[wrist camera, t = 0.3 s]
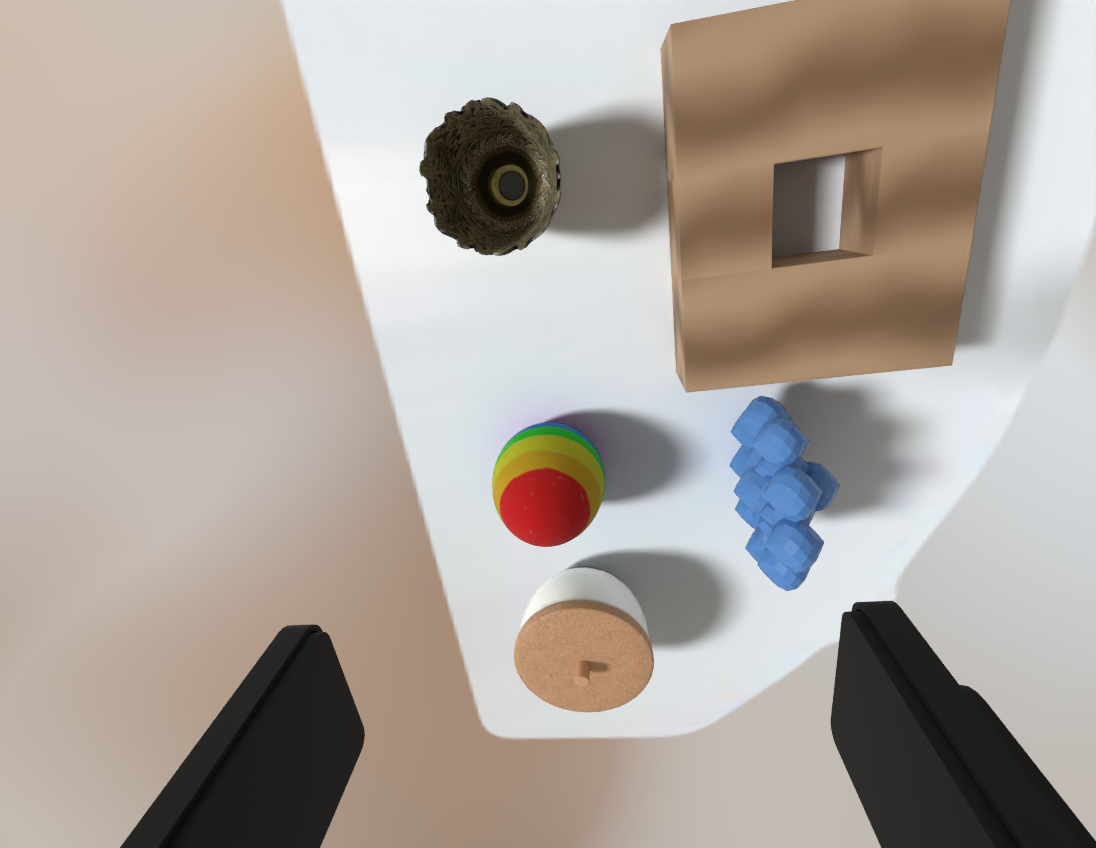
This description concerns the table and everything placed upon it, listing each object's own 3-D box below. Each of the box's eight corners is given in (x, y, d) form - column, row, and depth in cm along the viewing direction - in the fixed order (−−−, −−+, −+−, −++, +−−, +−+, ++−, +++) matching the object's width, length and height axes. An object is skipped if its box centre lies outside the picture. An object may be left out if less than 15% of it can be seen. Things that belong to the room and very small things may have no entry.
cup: (451, 123, 33) (410, 100, 26) (566, 117, 32) (558, 92, 25) (462, 246, 36) (428, 257, 29) (568, 244, 35) (561, 254, 28)
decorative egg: (484, 433, 41) (453, 498, 32) (577, 393, 39) (572, 450, 30) (530, 513, 44) (513, 595, 35) (620, 479, 42) (626, 557, 33)
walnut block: (660, 48, 31) (671, 24, 27) (956, -7, 29) (1017, -43, 24) (676, 372, 38) (686, 392, 34) (911, 346, 36) (951, 365, 32)
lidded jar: (509, 558, 46) (490, 639, 37) (628, 533, 44) (637, 613, 35) (546, 647, 50) (535, 740, 41) (656, 629, 48) (670, 722, 39)
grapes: (801, 511, 42) (875, 622, 31) (714, 516, 43) (757, 626, 32) (811, 373, 37) (902, 444, 26) (714, 382, 38) (763, 454, 27)
